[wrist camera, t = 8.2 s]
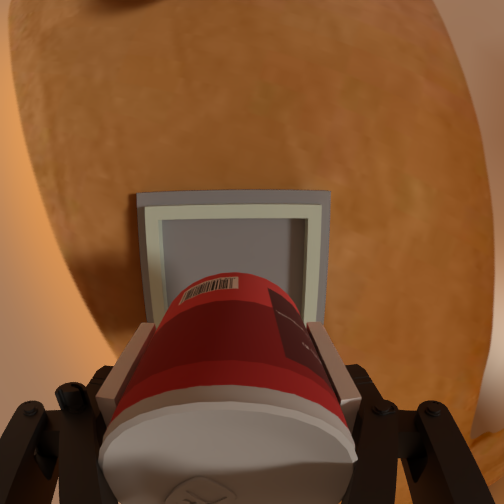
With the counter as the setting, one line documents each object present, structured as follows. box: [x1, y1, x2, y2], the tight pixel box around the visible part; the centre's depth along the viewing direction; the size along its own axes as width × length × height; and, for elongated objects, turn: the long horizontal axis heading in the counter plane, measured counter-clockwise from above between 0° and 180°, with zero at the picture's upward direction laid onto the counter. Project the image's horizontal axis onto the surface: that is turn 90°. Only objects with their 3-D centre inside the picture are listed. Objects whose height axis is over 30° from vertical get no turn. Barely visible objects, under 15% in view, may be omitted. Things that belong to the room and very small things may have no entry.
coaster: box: [137, 189, 331, 330], centre depth 25 cm, size 15×15×2 cm
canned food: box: [98, 272, 358, 504], centre depth 13 cm, size 8×8×11 cm
